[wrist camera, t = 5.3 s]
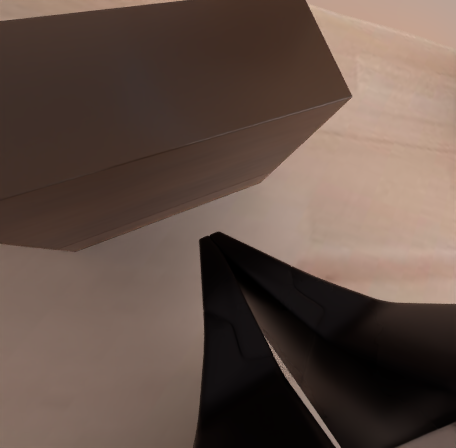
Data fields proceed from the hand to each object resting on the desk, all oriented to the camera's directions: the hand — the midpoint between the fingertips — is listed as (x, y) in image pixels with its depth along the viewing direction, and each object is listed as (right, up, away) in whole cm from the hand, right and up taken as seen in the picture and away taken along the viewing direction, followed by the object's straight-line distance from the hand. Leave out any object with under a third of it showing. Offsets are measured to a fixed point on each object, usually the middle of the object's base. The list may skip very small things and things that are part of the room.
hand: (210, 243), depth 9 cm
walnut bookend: (-5, +7, +8) cm, 12 cm away
